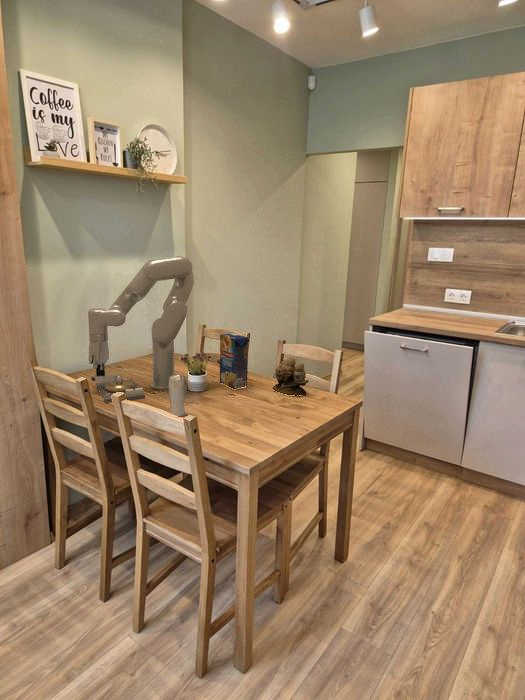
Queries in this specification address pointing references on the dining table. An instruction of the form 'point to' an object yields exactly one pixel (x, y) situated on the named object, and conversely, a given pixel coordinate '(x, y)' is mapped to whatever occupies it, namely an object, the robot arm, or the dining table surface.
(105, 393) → the level stand
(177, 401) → the beer glass
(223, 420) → the dining table surface
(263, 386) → the dining table surface
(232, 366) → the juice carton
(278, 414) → the dining table surface
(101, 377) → the cam foot
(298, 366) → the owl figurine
